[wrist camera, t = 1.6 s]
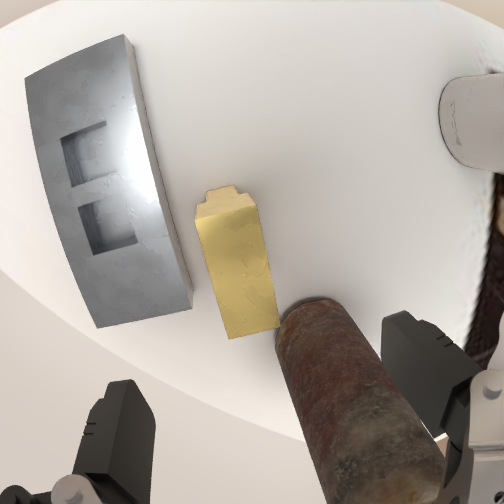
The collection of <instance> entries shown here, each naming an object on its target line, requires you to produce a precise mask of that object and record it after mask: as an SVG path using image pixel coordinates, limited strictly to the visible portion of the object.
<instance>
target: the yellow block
mask: <svg viewBox="0 0 504 504" xmlns="http://www.w3.org/2000/svg"><path fill="white" fill-rule="evenodd" d="M195 223H196V227H197V231H198V235H199V238H200V242H201V246H202V249H203V253H204V257H205V260H206V264H207V267H208V271H209V274H210V278H211V281H212V285H213V288H214V292H215V295H216V299H217V302H218V306H219V309H220V312H221V316H222V319H223V322H224V326H225V329H226V332H227V335H228V339H233V338H238V337H242V336H246V335H250V334H254V333H259V332H263V331H267V330H271V329H274V328H278V327H281V325H280V320H279V314H278V309H277V304H276V299H275V294H274V289H273V284H272V279H271V274H270V269H269V264H268V259H267V254H266V249H265V244H264V239H263V235H262V230H261V225H260V220H259V215H258V210H257V205H256V204H255V203H254V201H253V200H252V199H251V197H250V196H249V195H248V193H242V194H238V192H237V191H236V189H235V187H234V185H231V186H227V187H222V188H218V189H214V190H210V191H207V193H206V202H204V203H200V204H198V205H197V210H196V215H195Z"/></svg>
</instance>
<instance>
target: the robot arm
mask: <svg viewBox="0 0 504 504" xmlns="http://www.w3.org/2000/svg"><path fill="white" fill-rule="evenodd" d="M439 115H440V125H441V130H442V134H443V137H444V140H445V143H446V145H447V146H448V148H449V150H450V152H451V153H452V155H453V156H454V157H455V158H456V159H457V160H458V161H459V162H460V163H461V164H463V165H465V166H468V167H473V168H478V169H482V170H487V171H491V172H495V173H499V174H503V175H504V73H498V74H485V75H476V76H468V77H460V78H456V79H454V80H452V81H450V82H449V83H448V85H447V86H446V87H445V89H444V91H443V93H442V97H441V101H440V110H439ZM381 360H382V364H383V367H384V369H385V371H386V372H387V373H388V375H389V376H390V378H391V379H392V380H393V382H394V383H395V384H396V386H397V387H398V389H399V390H400V391H401V393H402V394H403V396H404V397H405V398H406V400H407V401H408V403H409V404H410V405H411V407H412V408H413V410H414V411H415V412H416V414H417V415H418V417H419V418H420V419H421V421H422V422H423V424H424V425H425V427H426V428H427V429H428V431H429V432H430V434H431V435H432V437H433V438H436V437H438V436H440V435H441V434H443V433H445V432H446V434H447V435H448V436H449V439H448V443H447V449H446V456H445V462H444V468H443V473H442V478H441V483H440V488H439V492H438V495H437V498H436V501H435V503H434V504H504V372H502V371H499V370H494V369H490V370H483V369H481V368H480V367H479V366H478V365H477V364H476V363H475V362H474V361H473V360H472V359H471V358H470V357H469V356H468V355H467V354H466V353H465V352H464V351H463V350H462V349H461V348H460V347H459V346H457V345H456V344H454V343H453V341H452V340H451V339H450V338H449V337H448V336H446V335H445V333H443V332H442V331H441V330H440V329H439V328H438V327H437V326H436V325H434V324H431V323H429V322H427V321H424V320H420V321H417V320H416V319H415V318H414V317H413V316H412V315H411V314H410V313H409V312H407V311H405V310H403V311H400V312H398V313H395V314H392V315H390V316H387V317H384V318H383V320H382V334H381ZM86 423H87V425H86V426H85V429H84V432H83V433H84V436H82V439H81V443H80V446H79V450H78V453H77V457H76V461H75V464H74V468H73V472H72V475H67V476H65V477H63V478H61V479H60V480H59V481H57V482H56V484H55V485H54V487H53V489H52V491H50V492H45V493H40V494H34V495H31V494H30V493H29V492H28V491H27V490H25V489H24V488H23V487H21V486H18V485H12V486H9V487H7V488H6V489H5V490H4V491H3V492H2V493H1V495H0V504H150V491H151V490H150V489H151V475H152V462H153V450H154V439H155V430H156V424H155V418H154V415H153V412H152V410H151V408H150V407H149V405H148V403H147V402H146V400H145V398H144V397H143V395H142V393H141V392H140V390H139V388H138V386H137V385H136V383H135V382H134V381H133V380H131V379H129V380H122V381H114V382H110V383H109V384H108V386H107V389H106V392H105V396H104V398H102V399H99V400H98V401H97V402H96V404H95V405H94V406H93V407H92V409H91V410H90V413H89V416H88V419H87V422H86Z"/></svg>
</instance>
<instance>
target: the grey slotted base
mask: <svg viewBox="0 0 504 504" xmlns="http://www.w3.org/2000/svg"><path fill="white" fill-rule="evenodd" d="M25 88H26V96H27V104H28V111H29V117H30V123H31V129H32V135H33V140H34V145H35V150H36V154H37V159H38V163H39V168H40V172H41V176H42V180H43V184H44V188H45V191H46V195H47V198H48V202H49V205H50V209H51V212H52V215H53V219H54V222H55V225H56V228H57V231H58V234H59V237H60V240H61V243H62V246H63V248H64V251H65V254H66V257H67V259H68V262H69V265H70V267H71V270H72V272H73V275H74V277H75V280H76V282H77V285H78V287H79V289H80V292H81V294H82V296H83V299H84V301H85V303H86V306H87V308H88V310H89V312H90V314H91V317H92V319H93V321H94V323H95V325H96V327H97V328H103V327H108V326H113V325H118V324H123V323H128V322H133V321H138V320H143V319H148V318H152V317H157V316H162V315H167V314H171V313H176V312H180V311H185V310H189V309H192V304H193V292H194V290H193V287H192V284H191V281H190V278H189V274H188V271H187V268H186V264H185V261H184V258H183V254H182V251H181V248H180V244H179V241H178V237H177V234H176V230H175V227H174V223H173V220H172V216H171V212H170V209H169V205H168V201H167V198H166V194H165V190H164V186H163V182H162V178H161V174H160V170H159V166H158V162H157V158H156V154H155V150H154V145H153V141H152V137H151V132H150V128H149V123H148V119H147V114H146V110H145V105H144V100H143V95H142V90H141V85H140V80H139V75H138V69H137V64H136V58H135V53H134V47H133V45H132V44H131V43H130V41H129V40H128V39H127V38H126V36H125V35H124V34H122V35H119V36H116V37H114V38H111V39H108V40H105V41H103V42H100V43H98V44H95V45H93V46H90V47H88V48H85V49H83V50H81V51H78V52H76V53H74V54H72V55H69V56H67V57H65V58H63V59H61V60H59V61H57V62H54V63H52V64H50V65H48V66H46V67H45V68H43V69H41V70H39V71H37V72H35V73H33V74H31V75H30V76H28V77H26V78H25Z"/></svg>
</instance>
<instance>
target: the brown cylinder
mask: <svg viewBox="0 0 504 504" xmlns="http://www.w3.org/2000/svg"><path fill="white" fill-rule="evenodd" d="M275 351H276V354H277V356H278V360H279V363H280V366H281V369H282V372H283V375H284V378H285V381H286V384H287V387H288V390H289V393H290V396H291V399H292V402H293V405H294V407H295V410H296V413H297V416H298V419H299V422H300V425H301V428H302V431H303V434H304V437H305V440H306V443H307V446H308V449H309V452H310V455H311V458H312V460H313V463H314V466H315V469H316V472H317V475H318V478H319V481H320V484H321V487H322V490H323V493H324V496H325V499H326V502H327V504H434V503H435V501H436V498H437V495H438V492H439V488H440V483H441V478H442V473H443V468H444V462H445V457H444V456H443V454H442V452H441V451H440V449H439V448H438V446H437V444H436V443H435V441H434V439H433V438H432V437H431V435H430V434H429V433H428V431H427V430H426V428H425V427H424V425H423V424H422V422H421V420H420V418H419V417H418V415H417V414H416V412H415V411H414V410H413V408H412V407H411V405H410V404H409V403H408V401H407V400H406V398H405V397H404V396H403V394H402V393H401V391H400V390H399V389H398V387H397V386H396V384H395V383H394V382H393V380H392V379H391V378H390V376H389V375H388V373H387V372H386V371H385V369H384V367H383V364H382V361H381V360H380V358H379V357H378V355H377V354H376V352H375V351H374V350H373V348H372V347H371V345H370V344H369V342H368V341H367V339H366V338H365V337H364V335H363V334H362V332H361V331H360V329H359V328H358V327H357V325H356V324H355V322H354V321H353V320H352V318H351V317H350V316H349V314H348V313H347V312H346V310H345V309H344V308H343V307H342V306H341V305H340V304H339V303H337V302H335V301H333V300H330V299H325V300H322V301H315V302H309V303H305V304H301V305H300V306H298V307H297V308H296V309H294V310H293V311H291V312H290V313H289V314H288V316H287V318H286V319H284V321H283V322H282V324H281V327H280V329H279V332H278V335H277V337H276V343H275Z"/></svg>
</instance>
